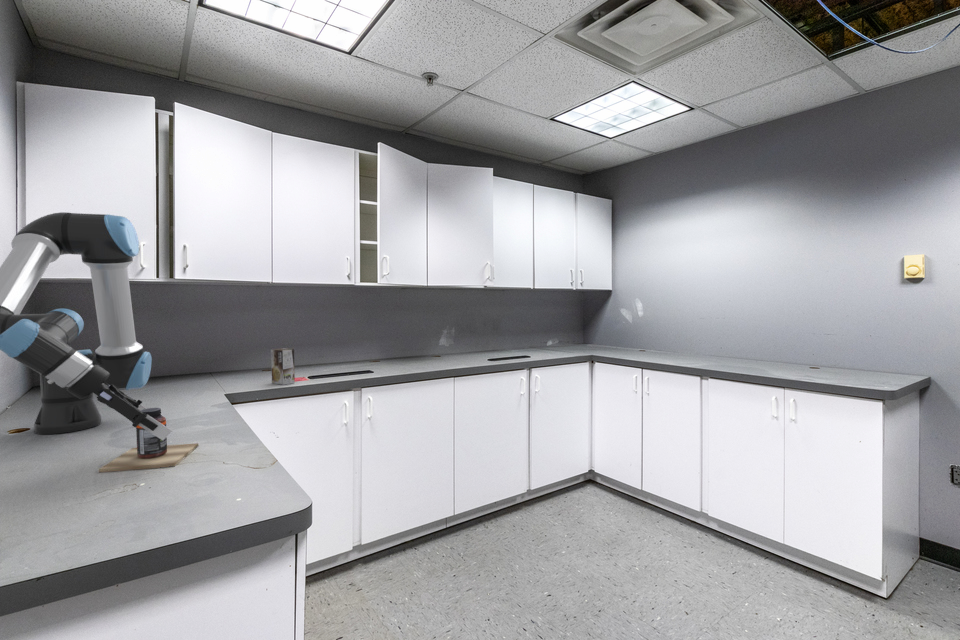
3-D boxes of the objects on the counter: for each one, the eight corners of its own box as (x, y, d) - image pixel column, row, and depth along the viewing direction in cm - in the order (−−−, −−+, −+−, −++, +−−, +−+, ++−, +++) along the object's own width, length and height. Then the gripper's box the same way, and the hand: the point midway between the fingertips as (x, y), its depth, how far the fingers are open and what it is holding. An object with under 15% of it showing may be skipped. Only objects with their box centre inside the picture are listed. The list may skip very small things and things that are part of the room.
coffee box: (295, 383, 212) (294, 348, 211) (283, 385, 206) (282, 350, 206) (283, 381, 217) (282, 347, 216) (271, 383, 211) (270, 349, 211)
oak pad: (132, 450, 116) (132, 447, 116) (198, 446, 119) (198, 443, 119) (99, 472, 101) (98, 468, 101) (174, 466, 105) (174, 462, 105)
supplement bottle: (142, 452, 112) (140, 407, 111) (170, 449, 114) (169, 405, 113) (133, 460, 106) (131, 413, 106) (163, 457, 108) (161, 410, 108)
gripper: (65, 381, 108) (144, 431, 119) (63, 398, 90) (157, 455, 100) (93, 357, 112) (168, 408, 122) (96, 369, 93) (184, 427, 104)
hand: (163, 429), depth 111 cm, fingers open, 13 cm apart
